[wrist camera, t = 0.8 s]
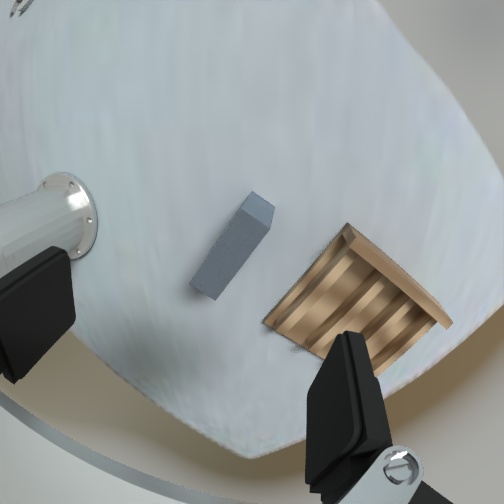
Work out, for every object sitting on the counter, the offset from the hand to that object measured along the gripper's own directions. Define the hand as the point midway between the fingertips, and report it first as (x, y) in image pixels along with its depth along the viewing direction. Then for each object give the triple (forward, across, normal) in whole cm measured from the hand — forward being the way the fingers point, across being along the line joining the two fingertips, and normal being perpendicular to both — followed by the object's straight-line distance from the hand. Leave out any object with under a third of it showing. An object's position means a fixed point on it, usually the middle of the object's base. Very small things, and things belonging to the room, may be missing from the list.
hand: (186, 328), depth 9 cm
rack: (+25, -15, +12) cm, 32 cm away
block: (+25, +1, +5) cm, 25 cm away
